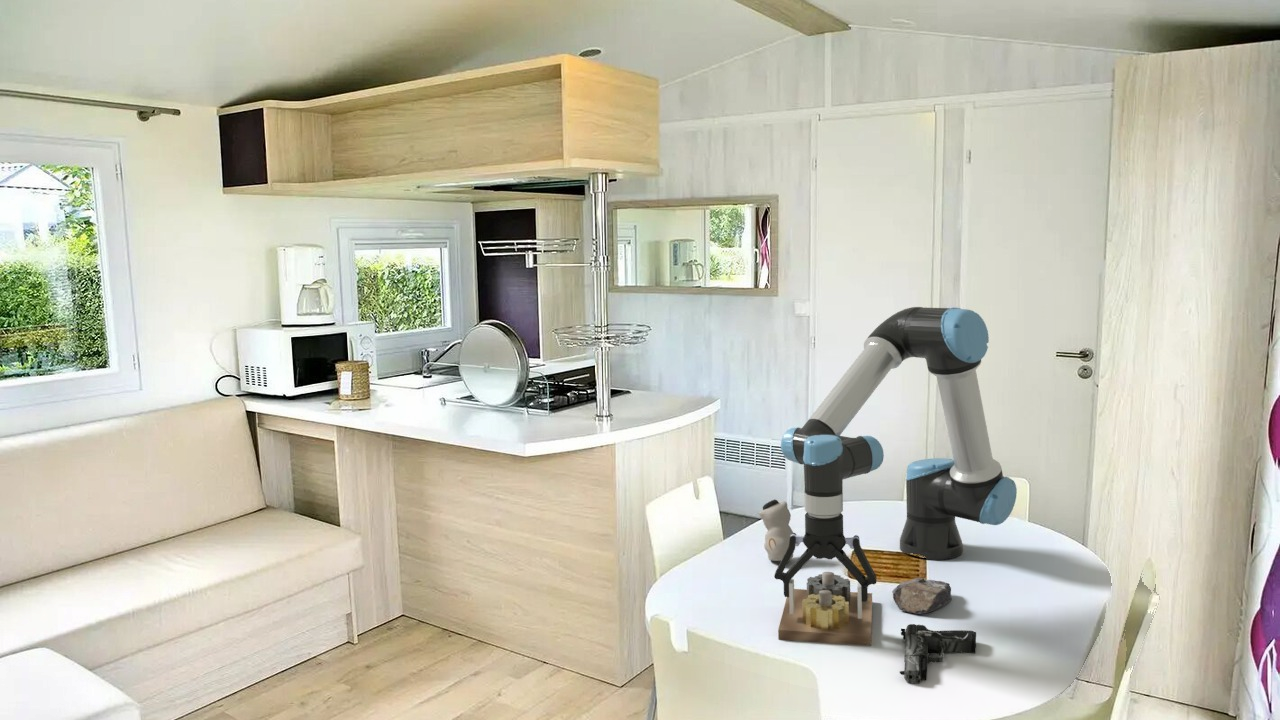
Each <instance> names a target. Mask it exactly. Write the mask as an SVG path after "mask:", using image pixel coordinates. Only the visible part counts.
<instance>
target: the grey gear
mask: <svg viewBox="0 0 1280 720" xmlns="http://www.w3.org/2000/svg"><path fill="white" fill-rule="evenodd" d="M806 590H807V598H808V595H811V594H814V595H818V594H819V591H821V590H829V591H831V592H832V595H835V596H842V597H845V602H849V603H850V592H851V580H850V579H849V578H844V577H841V575H839V574H834V585H829V586H827V585H823V584H822V573H821V574H818V575H815V576H813V577H812V576H809V577H808V578H807V582H806Z"/></svg>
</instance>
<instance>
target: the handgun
mask: <svg viewBox="0 0 1280 720" xmlns="http://www.w3.org/2000/svg"><path fill="white" fill-rule="evenodd" d="M900 635H901V636H902V637H903V638H902V639H903V641H904V657H903V659H904V670H900V671H899V674H900V675H902V676H903V677H904V680H905V681H906V683H908V684H914V685H915V684H918V685H919V684H920V683H921V681H922V680H924V681H925V682H926V681H927V680H928V677H927V676H928V665H929V664H930V663H931V664H932V663H936V664H938V663H942V662H943V660H944V654H956V653H958V654H960V653H961V654H962V653H963V654H964V653H965V654H976V649H977V631H973V630H968V629H967V630H962V629H961V630H960V629H959V630H957V629H956V630H932V629H928V628H927V626H926V625H923V624H915V623H911V624H910V623H909V624H907V625H906V628H900ZM931 655H939V656H931Z"/></svg>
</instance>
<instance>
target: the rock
mask: <svg viewBox="0 0 1280 720" xmlns="http://www.w3.org/2000/svg"><path fill="white" fill-rule="evenodd" d="M891 593H892V598H893V601H894V604H896V605H897V607H898V609H899V611H902V612H904V613H908V614H915V615H916V614H917V615H922V614H927V613H931V612H933V611H936V610H938V609H940V608H942V607H943V606H945V605H946V604H948V603H950V601H952V594H951V593H952V586H950V583H948V582H946V581H941V580H935V579H925V578H924V577H914V578H912V579H910V580H903V581H902V582H900V583H899V584H898V585H897V586H896V587H894V588H893V590H892V591H891Z"/></svg>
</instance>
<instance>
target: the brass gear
mask: <svg viewBox="0 0 1280 720" xmlns="http://www.w3.org/2000/svg"><path fill="white" fill-rule="evenodd" d="M802 610H803V620H804V621H806V625H807V626H809V627H813V626H814V627H816V628H821V630H828V629H834V628H838V629H841V628H844V625H845V623H849V602H845V597H842V596H835V595H832V605H830V606H823V605H819V594H818V595H814V594H811V595H808V598H807V599H803V601H802Z"/></svg>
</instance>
